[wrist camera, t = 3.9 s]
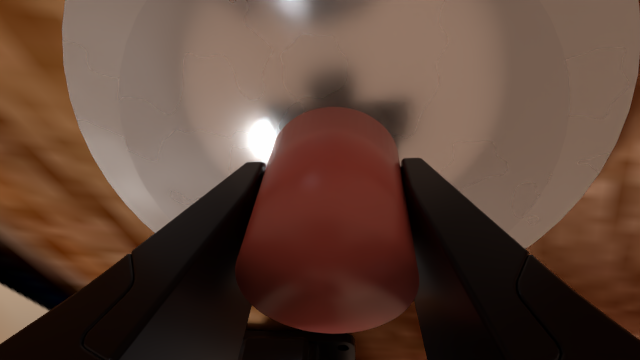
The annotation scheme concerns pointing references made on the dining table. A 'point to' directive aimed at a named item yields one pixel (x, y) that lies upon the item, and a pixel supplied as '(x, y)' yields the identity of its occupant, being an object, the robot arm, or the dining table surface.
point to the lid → (349, 124)
